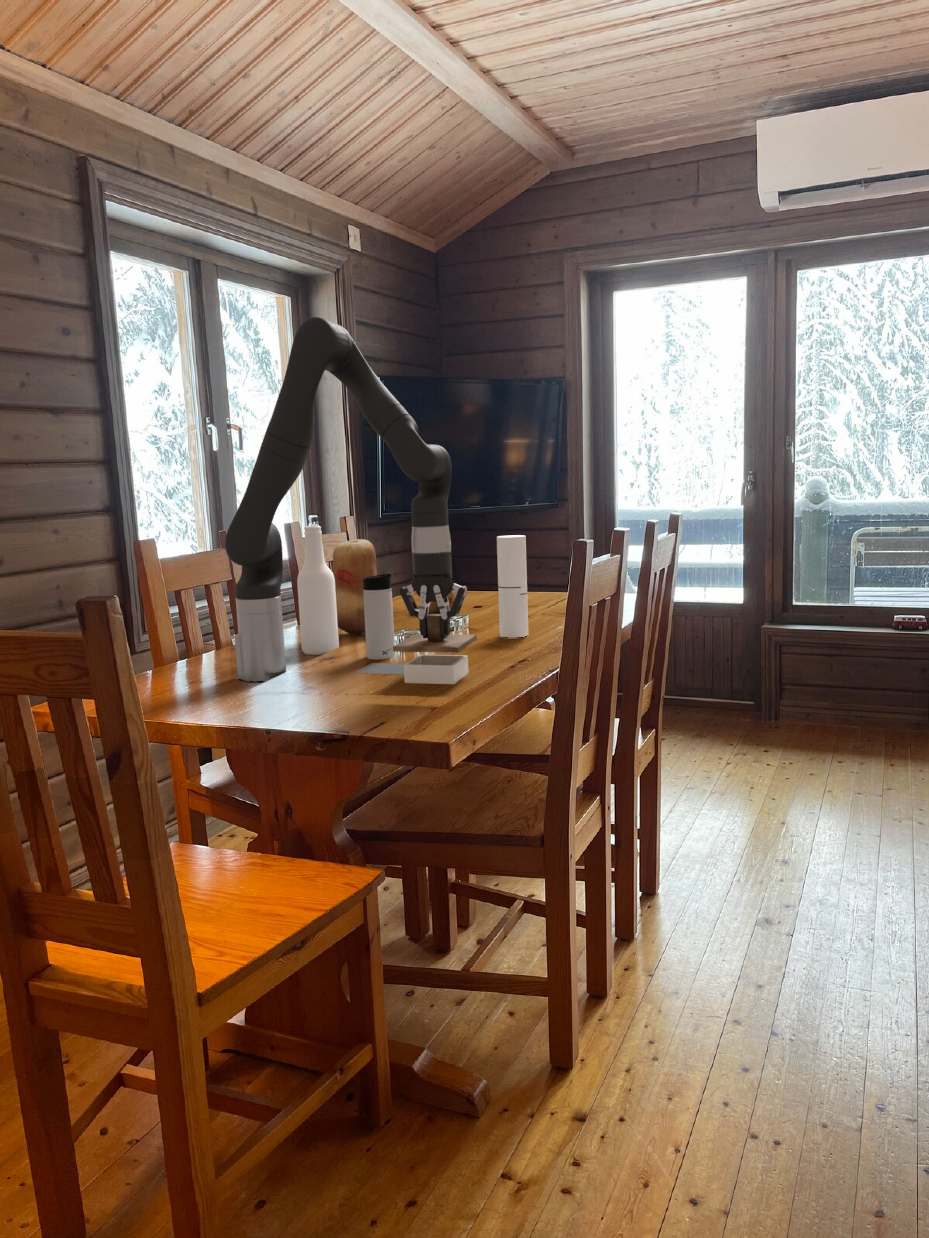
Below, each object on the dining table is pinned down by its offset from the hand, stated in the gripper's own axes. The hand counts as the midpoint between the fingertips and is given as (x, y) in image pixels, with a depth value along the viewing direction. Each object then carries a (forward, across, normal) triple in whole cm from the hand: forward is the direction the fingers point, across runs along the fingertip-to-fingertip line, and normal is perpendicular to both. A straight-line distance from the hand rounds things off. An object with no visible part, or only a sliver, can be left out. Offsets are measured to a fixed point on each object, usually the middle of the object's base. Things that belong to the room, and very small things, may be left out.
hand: (435, 637), depth 181 cm
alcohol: (+10, -39, +30) cm, 50 cm away
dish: (+10, 0, 0) cm, 10 cm away
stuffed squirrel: (+10, -29, +92) cm, 97 cm away
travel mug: (+10, -19, +19) cm, 29 cm away
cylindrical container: (+10, +3, +54) cm, 55 cm away
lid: (+2, 0, 0) cm, 2 cm away
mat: (+10, -12, +7) cm, 17 cm away
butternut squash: (+10, -38, +52) cm, 65 cm away
